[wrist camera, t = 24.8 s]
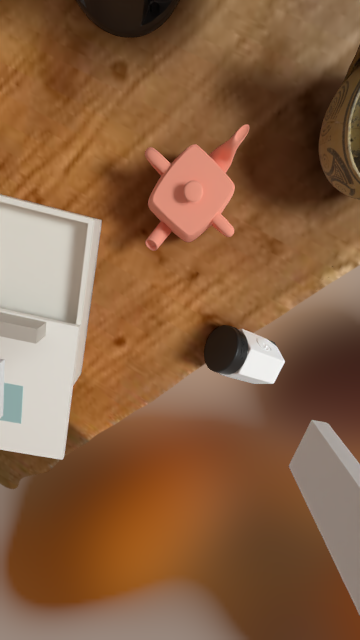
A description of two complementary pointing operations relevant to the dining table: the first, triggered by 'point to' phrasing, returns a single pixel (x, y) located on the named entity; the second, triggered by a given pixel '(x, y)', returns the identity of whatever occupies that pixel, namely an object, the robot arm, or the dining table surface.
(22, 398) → the lid
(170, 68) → the dining table surface
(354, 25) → the dining table surface
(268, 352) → the jar
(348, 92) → the ceramic bowl
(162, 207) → the teapot
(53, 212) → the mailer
